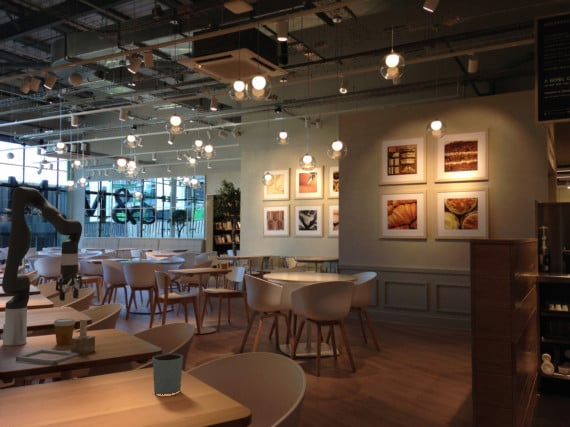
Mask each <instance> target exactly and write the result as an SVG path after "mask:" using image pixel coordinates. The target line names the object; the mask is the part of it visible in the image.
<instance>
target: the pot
mask: <svg viewBox="0 0 570 427" xmlns="http://www.w3.org/2000/svg"><path fill="white" fill-rule="evenodd" d="M95 350H96V336H93V335H87V338H84V339H82V338H80V335H79V336H75V337H72V338H71V344H70V352H76V353H79V355H86V354H89V353H92V352H94V351H95Z"/></svg>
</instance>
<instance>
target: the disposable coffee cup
mask: <svg viewBox="0 0 570 427" xmlns="http://www.w3.org/2000/svg"><path fill="white" fill-rule="evenodd" d="M75 324H76V320H75V319H74V318H68V317H67V318H57V319H55V320H54V322H53V326H54V330H55V331H54V334H55V342H56V346H68V345H71V338H74V337H73V335H74V328H75Z"/></svg>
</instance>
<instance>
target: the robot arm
mask: <svg viewBox="0 0 570 427" xmlns="http://www.w3.org/2000/svg"><path fill="white" fill-rule="evenodd" d="M31 207H33V208H35V209H37V210H39V211H40V212H41V216H42V217H43V219H44V220H46V221H47V222H49V224H51V225H52V226H53V228H54V229H55V230H56V231H57V233H58V234H60V235H62V236H68V238H67V240H64V241H62V243H61V249H60V250H61V253H60V254H61V255H60V275H61V277H56V280H55V291H56V292H58V293H59V301H61V302H64V301H66V290H67V289H68V288H69V287H71V288H72V289H73V292H72V293H73V294H72V296H73V299H79V291H80V289H82V288H83V275H78V274H79V244H80V241H81V240H80V239H81V238H82V233H83V226H82V223H81V222H80V221H79V220H76V219H75V220H74V219H68V218H67V215H66V214H65V213H64V212H63V211H61V210H59V209H58V208H56V207H55V206H54V205H53V204H52V203H50V201H49V200H47V199H46V198H45V196H44V195H43V194H42V193H41V192H40V191H39V190H38V189H36V188H34V187H25V186H18V187H16V188H15V189H14V190H13V191H12V198H11V221H10V231H9V238H8V248H7V256H6V262H5V267H4V271H3V275H2V281H1V288H2V291H3V293H4V294H6V295H13V296H12V298H11V299H9V300H8V301H7V302H5V307H4V308H5V312H4V315H5V318H4V324H3V329H2V345H4V346H8V347H9V346H10V347H11V346H13V347H14V346H21V345H25V344H27V331H28V329H27V328H28V326H27V325H28V303H29V300H30V291H31V280H30V278H29V276H28V275H27V274H26V273H19V267H20V265H21V263H22V262H23V260H24V258H26V255H27V254H28V253H29V250H30V249H31V248H30V247H31V243H32V242H31V241H32V232H31V229H30V227H29V225H28V223H27V221H26V216H25V214H26V213H25V212H26V208H31Z"/></svg>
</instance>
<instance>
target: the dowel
mask: <svg viewBox="0 0 570 427" xmlns="http://www.w3.org/2000/svg"><path fill="white" fill-rule="evenodd" d="M87 334H88V319H86V318H82V319H79V336H80V338H82V339H84V338H87V336H88V335H87Z"/></svg>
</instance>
